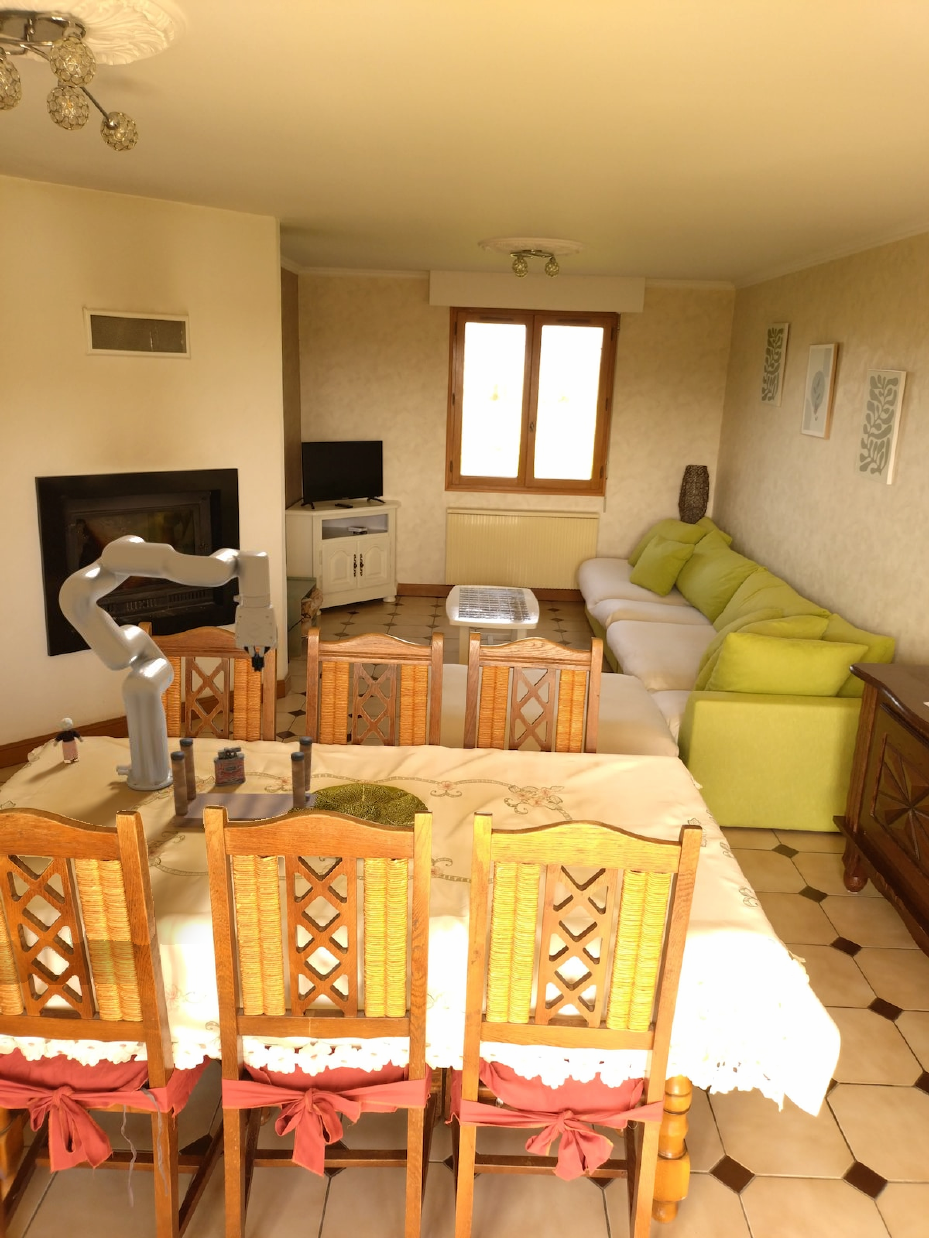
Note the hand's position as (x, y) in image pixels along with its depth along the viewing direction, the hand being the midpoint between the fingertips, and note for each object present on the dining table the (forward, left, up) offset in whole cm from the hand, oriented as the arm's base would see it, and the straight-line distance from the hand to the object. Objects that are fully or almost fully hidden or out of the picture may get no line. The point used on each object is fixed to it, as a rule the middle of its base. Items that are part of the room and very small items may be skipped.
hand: (258, 669), depth 241 cm
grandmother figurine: (-56, +14, -32) cm, 66 cm away
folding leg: (+11, -12, -20) cm, 26 cm away
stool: (-1, -16, -32) cm, 36 cm away
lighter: (-9, +1, -32) cm, 34 cm away
